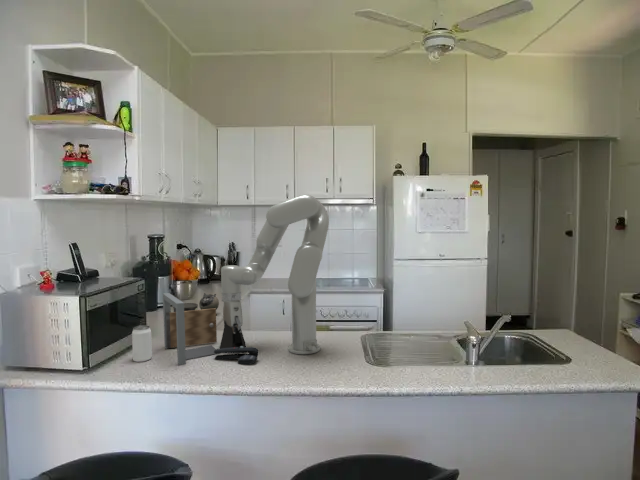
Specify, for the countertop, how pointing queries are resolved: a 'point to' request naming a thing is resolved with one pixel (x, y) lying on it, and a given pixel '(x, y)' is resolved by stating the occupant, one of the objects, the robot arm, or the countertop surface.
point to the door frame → (180, 324)
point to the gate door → (193, 327)
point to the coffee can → (189, 307)
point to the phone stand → (230, 338)
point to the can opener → (242, 358)
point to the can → (141, 343)
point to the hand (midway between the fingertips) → (232, 340)
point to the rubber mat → (200, 352)
